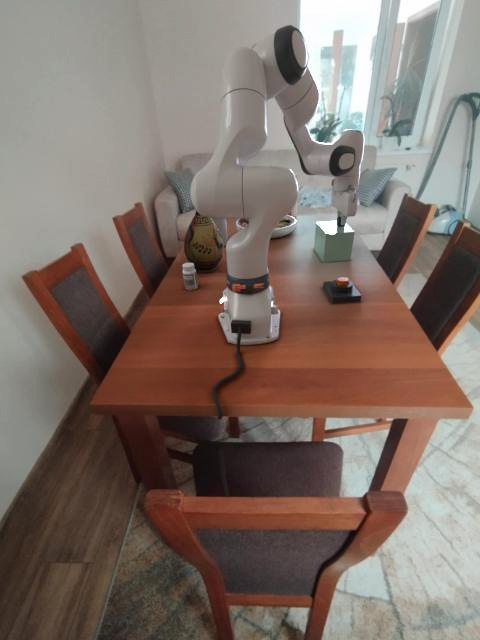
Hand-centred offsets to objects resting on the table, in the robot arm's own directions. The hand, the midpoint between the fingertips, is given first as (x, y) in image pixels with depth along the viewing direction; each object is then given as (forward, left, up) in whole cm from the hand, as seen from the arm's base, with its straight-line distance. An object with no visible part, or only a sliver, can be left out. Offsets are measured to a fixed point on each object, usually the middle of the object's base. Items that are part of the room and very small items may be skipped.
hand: (341, 223), depth 129 cm
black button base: (-37, +9, -12) cm, 40 cm away
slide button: (0, 0, -1) cm, 1 cm away
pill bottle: (-23, +59, -12) cm, 65 cm away
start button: (-37, +9, -9) cm, 39 cm away
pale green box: (0, +2, -12) cm, 12 cm away
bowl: (+38, +25, -12) cm, 47 cm away
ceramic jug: (-5, +54, -12) cm, 56 cm away
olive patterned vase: (+23, +51, -12) cm, 58 cm away
